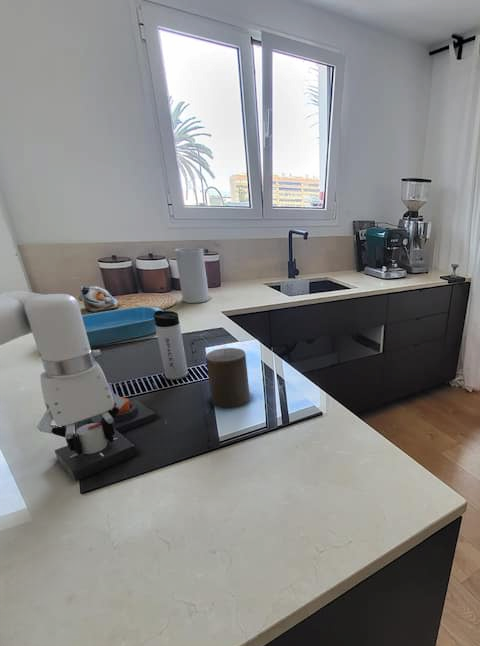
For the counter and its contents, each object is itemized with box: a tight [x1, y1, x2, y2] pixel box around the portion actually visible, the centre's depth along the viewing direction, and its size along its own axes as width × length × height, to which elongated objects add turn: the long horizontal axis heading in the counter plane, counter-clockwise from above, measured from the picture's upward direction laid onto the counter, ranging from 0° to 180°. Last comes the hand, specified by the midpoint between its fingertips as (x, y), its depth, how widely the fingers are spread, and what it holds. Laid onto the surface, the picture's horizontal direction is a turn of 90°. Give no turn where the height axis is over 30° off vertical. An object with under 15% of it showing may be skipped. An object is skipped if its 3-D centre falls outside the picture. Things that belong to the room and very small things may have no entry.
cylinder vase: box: [174, 247, 210, 304], centre depth 194 cm, size 12×12×25 cm
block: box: [88, 399, 157, 434], centre depth 93 cm, size 11×10×4 cm
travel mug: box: [154, 309, 189, 381], centre depth 113 cm, size 6×7×20 cm
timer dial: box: [75, 423, 107, 454], centre depth 78 cm, size 4×4×5 cm
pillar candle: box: [205, 347, 251, 409], centre depth 101 cm, size 10×10×15 cm
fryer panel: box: [54, 429, 137, 482], centre depth 80 cm, size 11×10×3 cm
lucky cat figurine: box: [79, 285, 120, 313], centre depth 177 cm, size 15×12×14 cm
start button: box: [118, 397, 130, 413], centre depth 92 cm, size 4×4×2 cm
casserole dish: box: [81, 306, 164, 348], centre depth 148 cm, size 37×22×7 cm, turn 134°
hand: (93, 444), depth 79 cm, fingers open, 5 cm apart
